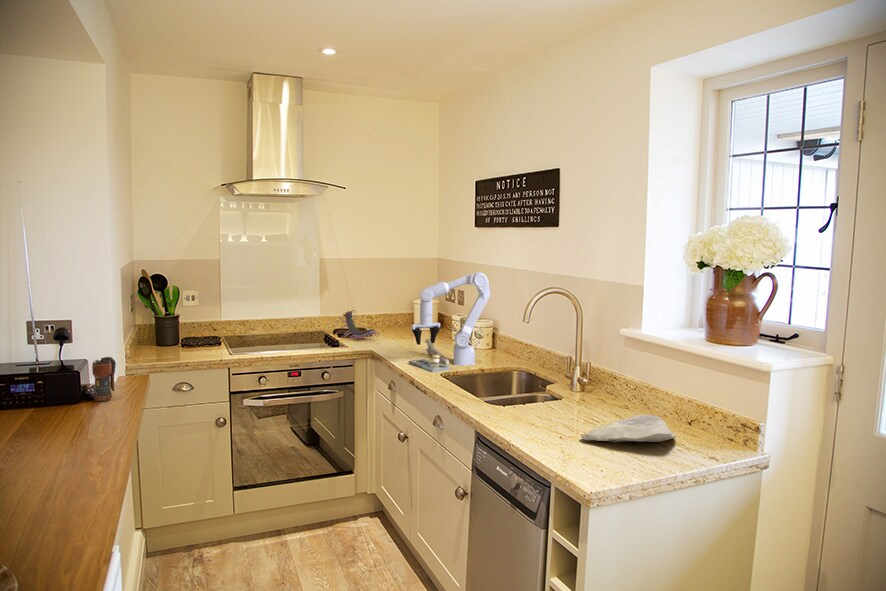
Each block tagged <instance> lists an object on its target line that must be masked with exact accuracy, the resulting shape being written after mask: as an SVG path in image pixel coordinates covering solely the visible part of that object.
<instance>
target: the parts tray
mask: <svg viewBox="0 0 886 591" xmlns="http://www.w3.org/2000/svg"><path fill="white" fill-rule="evenodd" d="M450 368H451V367H450V366H449V365H446V364H442V363H439V368H437V369H432V364H428V365H422V368H421V369H423V370H425V371H429V372H432V373H436V372H444V371H450Z"/></svg>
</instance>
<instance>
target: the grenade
mask: <svg viewBox="0 0 886 591" xmlns="http://www.w3.org/2000/svg"><path fill="white" fill-rule="evenodd" d="M116 366H117V363H116V360H115V359H114V358H113V357H112V356H104V357H101V358H100V360H99V359H96V360H94V361H93V362H92V367H91V368H92V376H93V377H94V390H95V391H94V397H93V398H94V399H93V400H95V402H98V403H103V402H109V401H111V399H112V397H113V395H112V392H115V373H116Z"/></svg>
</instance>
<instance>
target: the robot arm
mask: <svg viewBox="0 0 886 591" xmlns="http://www.w3.org/2000/svg"><path fill="white" fill-rule="evenodd" d="M463 285H470V286H473V285H474V286H475V287H476V289H477V292H478V295H477V297H476V300H475V301H474V304H473V306H472V307H471V309H470V311H469V313H468V315H467V317H466V319H465V321H464V323H463V324H462V325H461V327H460V329H459V330H458V331H456V333H455V334H454V342H455V343H454V345H453V359H452V360H453V365H455V366H461V367H465V366H473V365H475V366H476V364H475V361H476V360H475V357H476V353H475V352H476V351H475V349H474V347H473V346H472V345H470V344H469V343H470V337H471V335H472V332H473V329H474V328H475V325H476V324H477V322H478V320H479V318H480V316H481V314H482V312H483V310H484V308H485V306H486V304H487V303H488V300H489V298H490V296H491V291H490V282H489V279H488V277H487V275H486V274H485V273H483V272H481V271H477V272H475V273H469V274H466V275H464V276H461V277H459V278H456V279H453V280H451V281H449V282H446V281H441V280H440V281H438V282H437V283H436V284H433V285H428V286H427V287H425V288H422V289H421V291H420V294H419V296H420V300H419V301H420V302H419V303H420V304H419V323H415V324H410V325H411V326H410V327H411V329H410V330H411V331H412V333H413V336H414V338H415V342H416V345H421V339H422V338H421V337H422V333H423V330H421V329H429V333H430V339H431V343H433V344H435V342H436V338H437V336H438V333H439V332H440V328H441V323H440V322H433V299H436V298H440V297H442V296H445V295H446V294H449V291H450V290H453V289H455V288H458V287H461V286H463Z"/></svg>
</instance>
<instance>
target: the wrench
mask: <svg viewBox="0 0 886 591" xmlns="http://www.w3.org/2000/svg"><path fill="white" fill-rule="evenodd" d="M424 344H427V348H426V349H425V351H426V353H427V354H428V355H429V356H432V355H440V358H439V363H440V362H441V364H442V363H443V365H445V366H449V365H450V360H449V359H448V358H447V357H446V356H444V355H443V354H442V353H441V352H440V351H439V350H438V349H437V348H436V347H435V345H434V343H431V338H426V339H425V340H424Z"/></svg>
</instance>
